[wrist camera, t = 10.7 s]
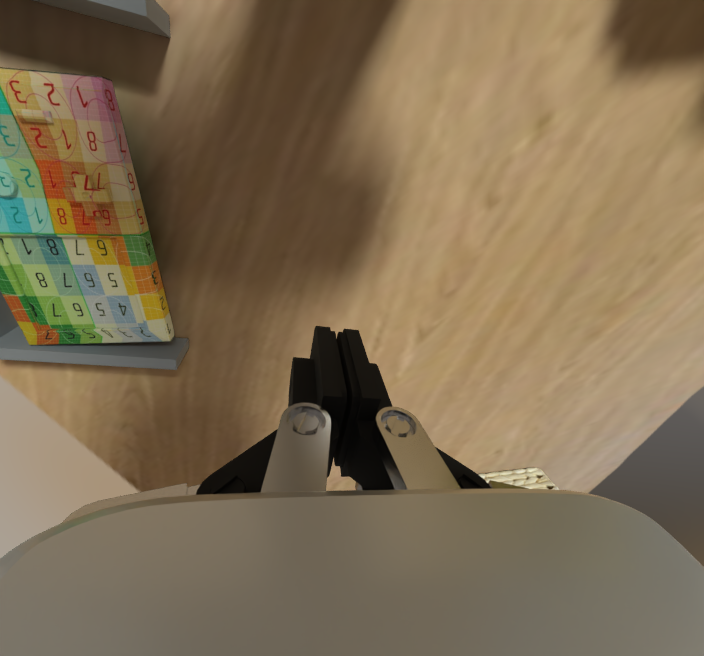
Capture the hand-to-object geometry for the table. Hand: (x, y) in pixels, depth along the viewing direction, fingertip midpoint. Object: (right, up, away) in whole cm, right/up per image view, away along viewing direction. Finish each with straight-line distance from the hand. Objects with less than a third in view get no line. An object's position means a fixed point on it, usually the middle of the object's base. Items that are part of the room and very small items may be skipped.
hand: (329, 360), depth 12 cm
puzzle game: (-22, +10, +15) cm, 29 cm away
